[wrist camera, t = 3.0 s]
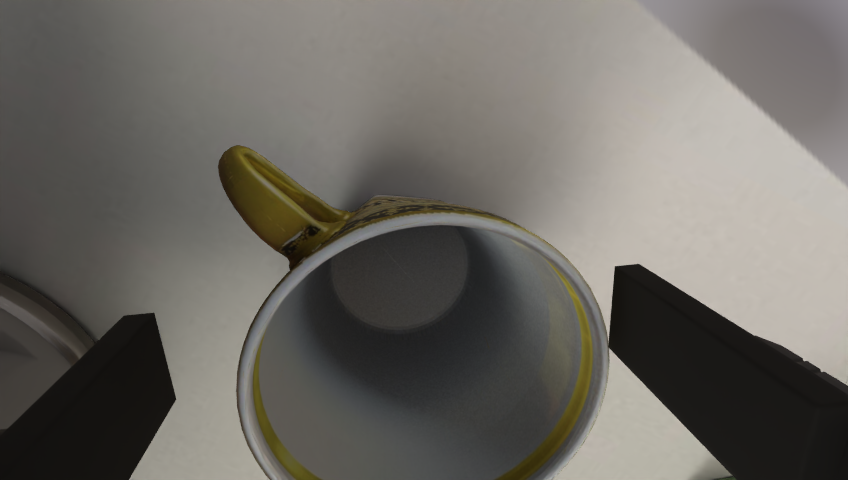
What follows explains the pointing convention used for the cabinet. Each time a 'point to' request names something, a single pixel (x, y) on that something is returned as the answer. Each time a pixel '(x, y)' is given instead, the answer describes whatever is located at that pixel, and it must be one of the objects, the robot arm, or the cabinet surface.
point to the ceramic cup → (411, 340)
